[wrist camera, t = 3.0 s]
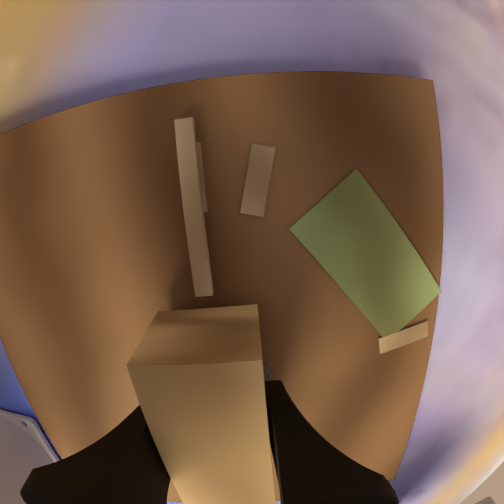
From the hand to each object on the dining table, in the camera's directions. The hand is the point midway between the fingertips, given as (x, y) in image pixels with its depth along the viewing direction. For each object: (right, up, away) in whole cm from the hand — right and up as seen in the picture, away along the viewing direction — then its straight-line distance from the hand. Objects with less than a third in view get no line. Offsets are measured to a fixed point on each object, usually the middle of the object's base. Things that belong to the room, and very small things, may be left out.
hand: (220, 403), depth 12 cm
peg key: (0, +3, 0) cm, 3 cm away
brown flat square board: (-1, +1, +2) cm, 3 cm away
